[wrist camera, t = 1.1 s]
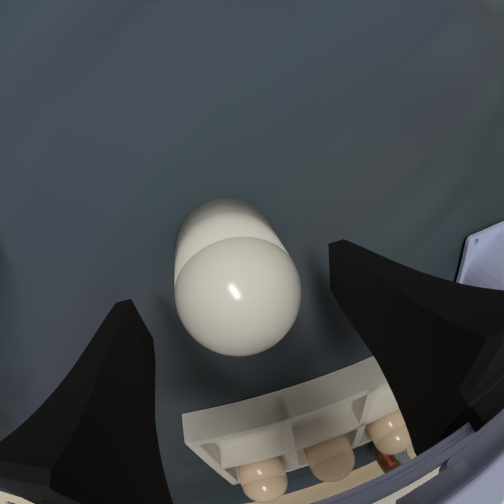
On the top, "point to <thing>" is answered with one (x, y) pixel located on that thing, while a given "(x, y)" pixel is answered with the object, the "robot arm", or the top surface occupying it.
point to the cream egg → (234, 279)
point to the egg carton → (290, 420)
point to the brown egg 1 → (263, 479)
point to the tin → (389, 459)
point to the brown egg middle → (331, 459)
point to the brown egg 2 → (389, 433)
